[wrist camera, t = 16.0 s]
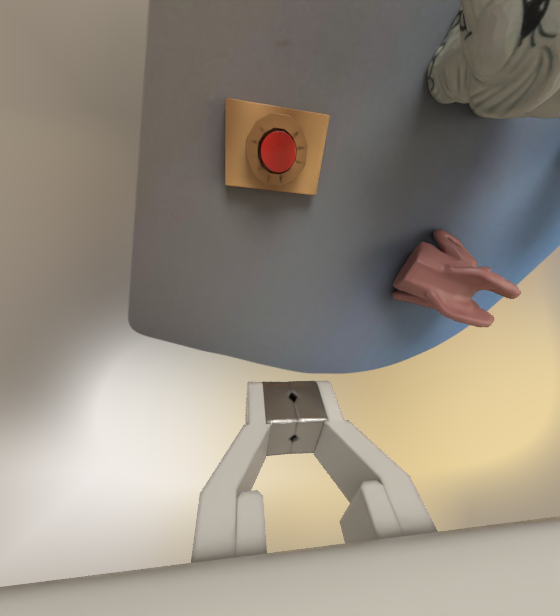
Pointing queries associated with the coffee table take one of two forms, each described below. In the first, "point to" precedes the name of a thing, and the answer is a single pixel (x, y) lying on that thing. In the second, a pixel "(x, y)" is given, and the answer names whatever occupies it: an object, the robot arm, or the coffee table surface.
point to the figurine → (449, 281)
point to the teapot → (501, 59)
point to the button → (278, 151)
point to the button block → (250, 133)
